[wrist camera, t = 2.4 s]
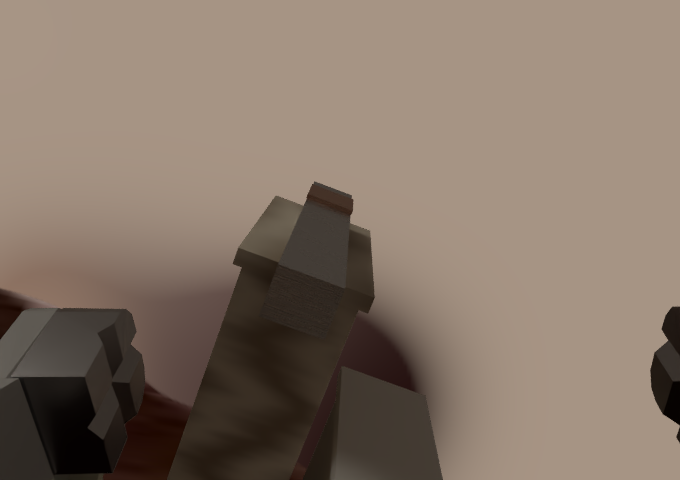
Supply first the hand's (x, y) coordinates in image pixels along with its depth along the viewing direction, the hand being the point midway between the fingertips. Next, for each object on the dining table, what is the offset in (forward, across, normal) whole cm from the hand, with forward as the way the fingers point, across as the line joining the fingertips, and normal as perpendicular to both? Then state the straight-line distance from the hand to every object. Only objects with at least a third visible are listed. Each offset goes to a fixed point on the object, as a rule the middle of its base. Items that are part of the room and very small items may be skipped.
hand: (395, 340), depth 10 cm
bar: (+24, +3, +13) cm, 28 cm away
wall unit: (+23, +13, +38) cm, 46 cm away
